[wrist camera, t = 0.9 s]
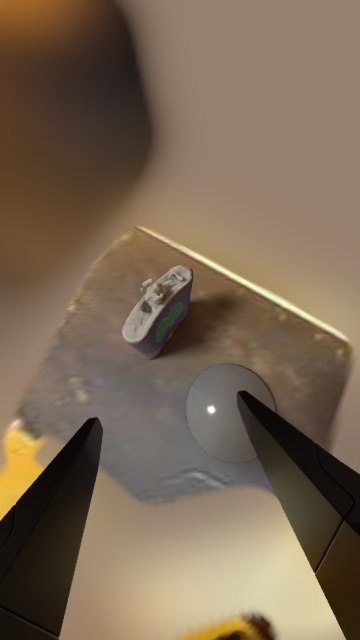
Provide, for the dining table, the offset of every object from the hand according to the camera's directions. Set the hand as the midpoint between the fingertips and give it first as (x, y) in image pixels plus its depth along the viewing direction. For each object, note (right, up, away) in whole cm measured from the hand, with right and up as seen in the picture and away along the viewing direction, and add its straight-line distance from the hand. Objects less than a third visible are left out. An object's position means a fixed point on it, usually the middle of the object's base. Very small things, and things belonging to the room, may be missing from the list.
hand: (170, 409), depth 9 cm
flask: (-2, +3, +16) cm, 16 cm away
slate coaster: (+6, -6, +12) cm, 15 cm away
